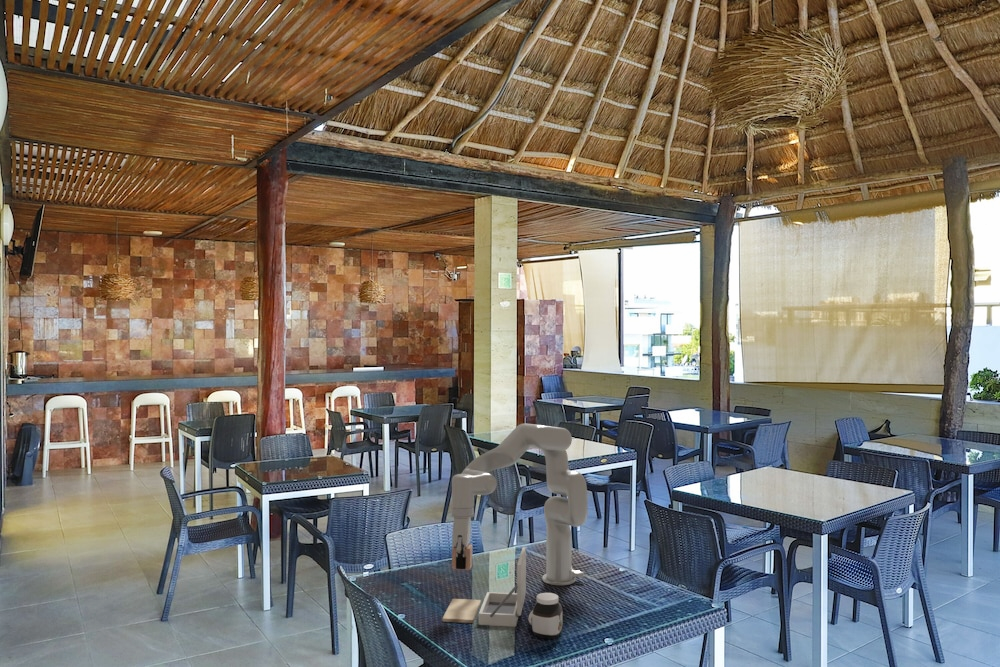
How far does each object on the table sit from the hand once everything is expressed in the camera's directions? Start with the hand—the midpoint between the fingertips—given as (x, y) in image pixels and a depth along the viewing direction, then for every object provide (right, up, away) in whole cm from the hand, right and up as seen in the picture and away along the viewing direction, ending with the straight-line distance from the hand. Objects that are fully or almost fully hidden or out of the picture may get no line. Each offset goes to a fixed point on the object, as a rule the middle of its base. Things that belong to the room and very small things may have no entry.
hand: (462, 565), depth 237 cm
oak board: (0, -16, 0) cm, 16 cm away
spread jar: (+26, -16, -16) cm, 35 cm away
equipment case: (+13, -16, -2) cm, 20 cm away
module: (0, -1, 0) cm, 1 cm away
